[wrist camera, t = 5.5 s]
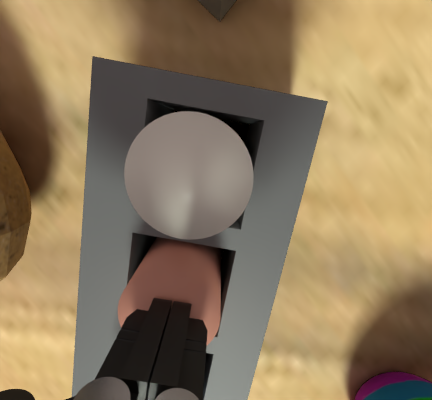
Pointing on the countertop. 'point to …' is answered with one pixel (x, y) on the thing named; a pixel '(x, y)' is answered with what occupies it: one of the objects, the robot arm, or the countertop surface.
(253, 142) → the grey rectangular block
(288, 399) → the countertop surface
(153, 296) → the brown egg
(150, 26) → the countertop surface
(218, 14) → the soap mold
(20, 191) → the potato
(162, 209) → the white egg
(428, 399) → the decorative egg
